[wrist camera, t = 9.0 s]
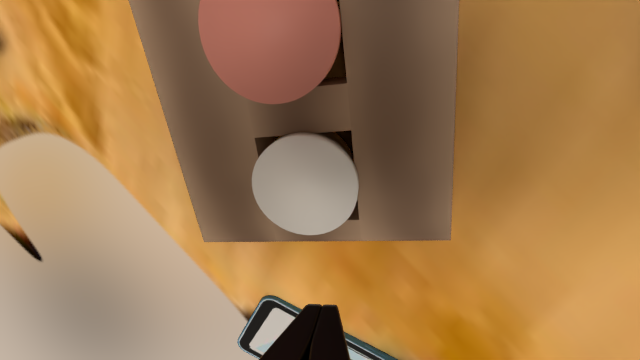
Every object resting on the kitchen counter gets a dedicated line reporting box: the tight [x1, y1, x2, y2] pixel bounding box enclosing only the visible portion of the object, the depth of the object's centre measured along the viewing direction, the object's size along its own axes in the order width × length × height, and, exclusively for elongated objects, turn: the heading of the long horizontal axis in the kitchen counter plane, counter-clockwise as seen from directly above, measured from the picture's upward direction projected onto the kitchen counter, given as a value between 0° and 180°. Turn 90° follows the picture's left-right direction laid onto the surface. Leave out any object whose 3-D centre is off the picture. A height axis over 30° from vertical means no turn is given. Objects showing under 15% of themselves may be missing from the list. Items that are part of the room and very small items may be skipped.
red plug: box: [198, 0, 341, 104], centre depth 14 cm, size 6×6×4 cm
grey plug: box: [252, 132, 359, 235], centre depth 19 cm, size 6×6×4 cm
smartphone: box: [238, 295, 397, 360], centre depth 28 cm, size 7×1×15 cm
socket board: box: [129, 0, 459, 242], centre depth 16 cm, size 15×23×3 cm, turn 7°
